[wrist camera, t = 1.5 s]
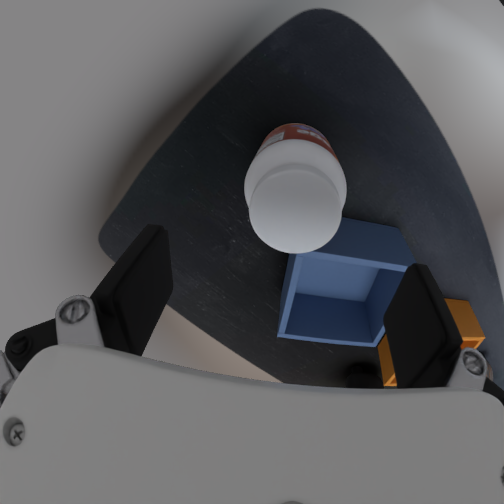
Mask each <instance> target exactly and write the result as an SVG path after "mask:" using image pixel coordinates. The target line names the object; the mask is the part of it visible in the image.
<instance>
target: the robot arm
mask: <svg viewBox="0 0 504 504" xmlns="http://www.w3.org/2000/svg"><path fill="white" fill-rule="evenodd" d="M172 290H173V279H172V270H171V260H170V250H169V238H168V231H167V230H164V227H163V226H160V225H152V224H148V225H147V226H146V227H145V228H144V229H143V230H142V232H141V233H140V234H139V235H138V236H137V238H136V239H135V240H134V241H133V242H132V244H131V245H130V246H129V247H128V248H127V250H126V251H125V252H124V253H123V255H122V256H121V257H120V258H119V260H118V261H117V262H116V263H115V265H114V266H113V267H112V268H111V270H110V271H109V272H108V274H107V275H106V276H105V278H104V279H103V280H102V281H101V283H100V284H99V285H98V287H97V288H96V290H95V291H94V292H93V294H92V295H91V296H90V298H89V297H86V296H84V295H76V296H72V297H69V298H67V299H65V300H64V301H63V302H62V303H61V304H60V305H59V306H58V308H57V310H56V315H55V318H54V319H52V320H49V321H46V322H43V323H41V324H38V325H35V326H33V327H30V328H27V329H24V330H22V331H19V332H17V333H15V334H14V335H13V336H12V337H11V338H10V339H9V340H8V342H7V344H6V347H5V352H4V353H3V352H2V351H0V504H504V391H503V390H502V389H501V388H500V387H499V386H497V385H496V384H495V383H494V382H493V381H491V380H490V379H489V378H488V377H486V375H487V363H486V361H485V358H484V357H483V356H482V354H481V353H480V352H479V351H478V350H476V349H474V348H471V347H466V348H464V349H461V347H460V346H461V344H462V343H463V342H464V341H463V339H462V337H461V334H460V332H459V329H458V327H457V325H456V323H455V320H454V318H453V316H452V314H451V312H450V310H449V307H448V305H447V303H446V301H445V299H444V297H443V295H442V293H441V291H440V289H439V287H438V285H437V283H436V281H435V279H434V278H433V276H432V274H431V272H430V270H429V268H428V267H427V265H423V264H417V263H413V264H412V265H411V266H408V267H407V269H406V271H405V273H404V275H403V278H402V280H401V282H400V284H399V286H398V288H397V290H396V292H395V294H394V296H393V298H392V300H391V302H390V304H389V306H388V308H387V310H386V312H385V314H384V317H383V324H384V328H385V332H386V336H387V340H388V345H389V349H390V353H391V358H392V363H393V367H394V372H395V378H396V383H397V388H398V389H356V388H333V387H318V386H306V385H295V384H285V383H276V382H269V381H261V380H254V379H247V378H241V377H234V376H229V375H223V374H217V373H212V372H207V371H202V370H197V369H192V368H188V367H182V366H179V365H174V364H170V363H165V362H162V361H157V360H153V359H149V358H145V357H141V356H142V354H143V352H144V350H145V347H146V345H147V343H148V341H149V339H150V337H151V334H152V332H153V330H154V328H155V326H156V324H157V322H158V320H159V318H160V316H161V314H162V311H163V309H164V307H165V305H166V303H167V301H168V299H169V297H170V295H171V293H172Z"/></svg>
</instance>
